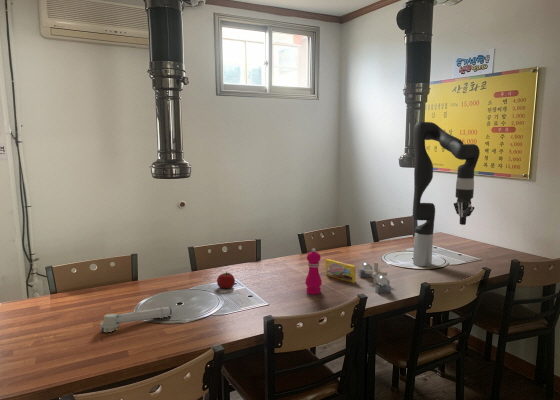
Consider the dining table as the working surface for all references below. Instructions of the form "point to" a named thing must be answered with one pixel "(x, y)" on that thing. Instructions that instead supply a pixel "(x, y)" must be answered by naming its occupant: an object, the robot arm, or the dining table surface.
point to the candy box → (340, 270)
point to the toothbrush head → (132, 317)
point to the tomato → (226, 280)
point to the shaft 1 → (362, 273)
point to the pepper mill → (313, 273)
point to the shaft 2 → (382, 285)
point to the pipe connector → (375, 272)
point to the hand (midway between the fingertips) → (462, 224)
